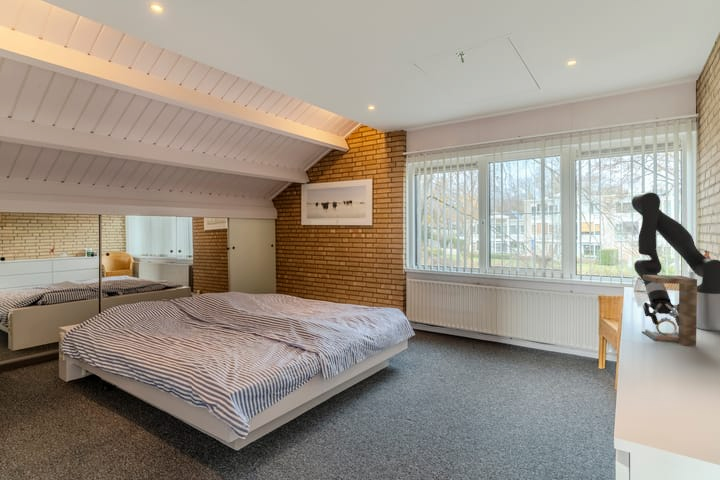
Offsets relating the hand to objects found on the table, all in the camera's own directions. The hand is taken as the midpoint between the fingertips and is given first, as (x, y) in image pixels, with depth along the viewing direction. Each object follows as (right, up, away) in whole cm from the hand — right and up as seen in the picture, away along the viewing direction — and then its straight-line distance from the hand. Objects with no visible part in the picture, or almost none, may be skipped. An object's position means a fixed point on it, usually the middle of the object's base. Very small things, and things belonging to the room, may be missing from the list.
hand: (668, 324), depth 169 cm
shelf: (-3, -6, -3) cm, 7 cm away
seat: (0, -6, +1) cm, 6 cm away
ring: (0, -5, +2) cm, 6 cm away
